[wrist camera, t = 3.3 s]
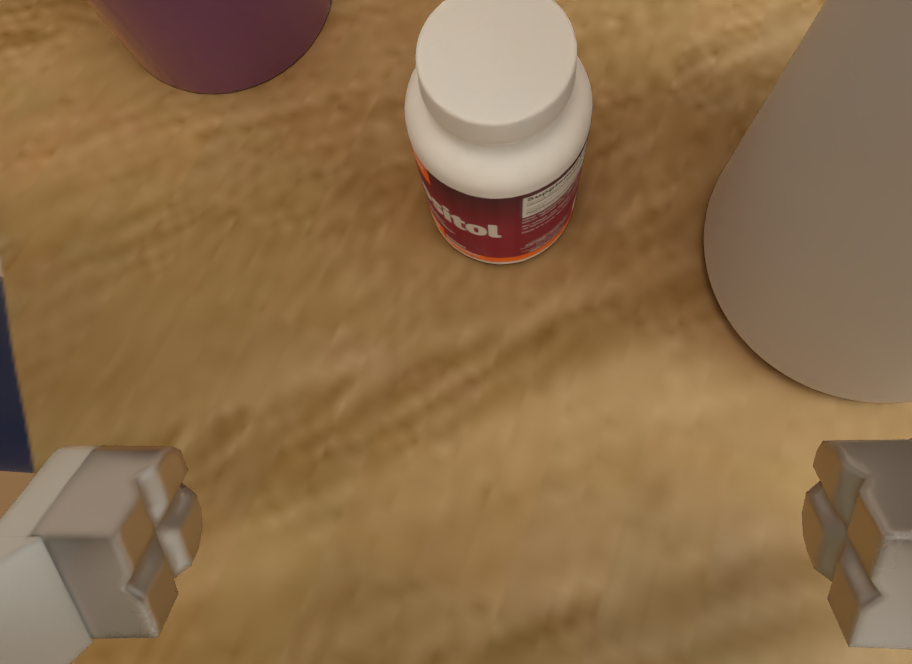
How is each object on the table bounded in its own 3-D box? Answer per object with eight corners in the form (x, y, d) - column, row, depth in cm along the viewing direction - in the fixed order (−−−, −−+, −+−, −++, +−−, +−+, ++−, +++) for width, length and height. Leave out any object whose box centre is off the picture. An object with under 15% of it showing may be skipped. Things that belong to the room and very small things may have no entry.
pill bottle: (401, 197, 32) (343, 46, 22) (506, 108, 33) (500, -83, 22) (497, 299, 31) (486, 191, 20) (605, 203, 32) (650, 49, 21)
